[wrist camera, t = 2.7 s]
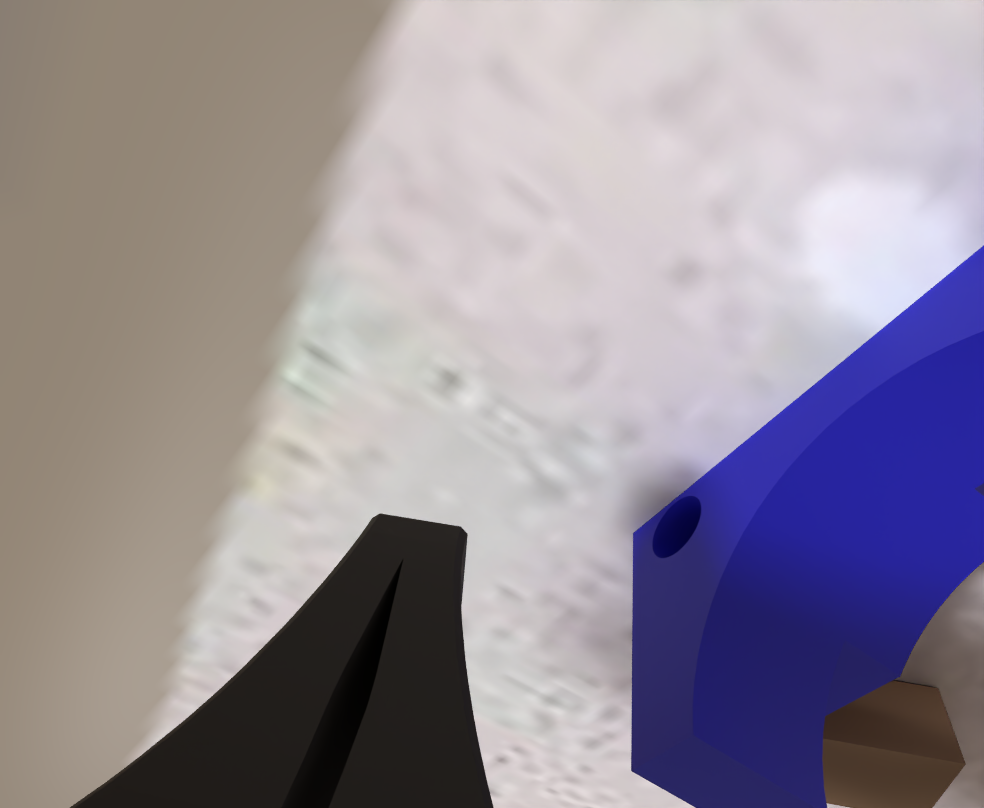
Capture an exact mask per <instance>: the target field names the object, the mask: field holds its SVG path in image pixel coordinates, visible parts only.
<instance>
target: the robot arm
mask: <svg viewBox="0 0 984 808" xmlns="http://www.w3.org/2000/svg"><path fill="white" fill-rule="evenodd" d="M466 546H467V533H466V532H465V531H464V530H463V529H462V528H461V527H459V526H453V525H447V524H441V523H435V522H429V521H422V520H416V519H410V518H404V517H398V516H392V515H386V514H378V515H377V516H375V517H373V518H372V519H371V521H370V522H369V524H368V525H367V527H366V528H365V530H364V531H363V532H362V534H361V535H360V536H359V538H358V539H357V540H356V542H355V543H354V544H353V546H352V547H351V548H350V550H349V551H348V552H347V553H346V555H345V556H344V557H343V559H342V560H341V561H340V562H339V564H338V565H337V566H336V567H335V568H334V570H333V571H332V572H331V573H330V574H329V576H328V577H327V578H326V579H325V581H324V582H323V583H322V584H321V585H320V586H319V587H318V589H317V590H316V591H315V592H314V593H313V594H312V595H311V596H310V598H309V599H308V600H307V601H306V602H305V603H304V604H303V606H302V607H301V608H300V609H299V610H298V611H297V612H296V613H295V615H294V616H293V617H292V618H291V619H290V620H289V621H288V622H287V623H286V624H285V625H284V626H283V628H282V629H281V630H280V631H279V632H278V633H277V634H276V635H275V636H274V637H273V638H272V639H271V640H270V641H269V642H268V643H267V644H266V645H265V646H264V647H263V648H262V649H261V650H260V651H259V652H258V653H257V654H256V655H255V656H254V657H253V658H252V659H251V660H250V661H249V662H248V663H247V664H246V665H245V666H244V667H243V668H242V669H241V670H240V671H239V672H238V673H237V674H236V675H235V676H233V677H232V678H231V679H230V680H229V681H228V682H227V683H226V684H225V685H224V686H223V687H222V688H221V689H220V690H218V691H217V692H216V693H215V694H214V695H213V696H212V697H211V698H210V699H208V700H207V701H206V702H205V703H204V704H203V705H202V706H200V707H199V708H198V709H197V710H196V711H195V712H194V713H192V714H191V715H190V716H189V717H188V718H187V719H185V720H184V721H183V722H182V723H181V724H179V725H178V726H177V727H176V728H175V729H173V730H172V731H171V732H170V733H168V734H167V735H166V736H165V737H163V738H162V739H161V740H160V741H158V742H157V743H156V744H155V745H154V746H152V747H151V748H150V749H149V750H147V751H146V752H145V753H144V754H142V755H141V756H140V757H139V758H137V759H136V760H135V761H133V762H132V763H131V764H129V765H128V766H127V767H126V768H124V769H123V770H122V771H120V772H119V773H118V774H116V775H115V776H114V777H112V778H111V779H110V780H108V781H107V782H106V783H104V784H103V785H101V786H100V787H98V788H97V789H96V790H94V791H93V792H91V793H90V794H88V795H87V796H86V797H84V798H83V799H81V800H80V801H78V802H77V803H76V804H74V805H73V806H71V807H70V808H493V804H492V800H491V796H490V792H489V788H488V784H487V780H486V775H485V770H484V766H483V761H482V757H481V752H480V747H479V742H478V737H477V732H476V727H475V721H474V716H473V710H472V703H471V697H470V691H469V684H468V677H467V669H466V661H465V651H464V640H463V628H462V614H461V604H462V593H463V581H464V569H465V558H466Z"/></svg>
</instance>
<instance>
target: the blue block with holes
mask: <svg viewBox="0 0 984 808" xmlns="http://www.w3.org/2000/svg"><path fill="white" fill-rule="evenodd" d="M983 562H984V246H983V247H981V248H980V249H979V250H978V251H977V252H975V253H974V254H973V255H972V256H970V257H969V258H968V259H967V260H966V261H964V262H963V263H962V264H961V265H959V266H958V267H957V268H956V269H955V270H953V271H952V272H951V273H950V274H948V275H947V276H946V277H945V278H944V279H942V280H941V281H940V282H939V283H938V284H936V285H935V286H934V287H933V288H931V289H930V290H929V291H928V292H927V293H925V294H924V295H923V296H922V297H920V298H919V299H918V300H917V301H916V302H914V303H913V304H912V305H911V306H910V307H908V308H907V309H906V310H905V311H903V312H902V313H901V314H900V315H899V316H897V317H896V318H895V319H894V320H892V321H891V322H890V323H889V324H888V325H886V326H885V327H884V328H883V329H881V330H880V331H879V332H878V333H877V334H875V335H874V336H873V337H872V338H871V339H869V340H868V341H867V342H866V343H864V344H863V345H862V346H861V347H860V348H858V349H857V350H856V351H855V352H853V353H852V354H851V355H850V356H849V357H847V358H846V359H845V360H844V361H843V362H841V363H840V364H839V365H838V366H836V367H835V368H834V369H833V370H832V371H830V372H829V373H828V374H827V375H825V376H824V377H823V378H822V379H821V380H819V381H818V382H817V383H816V384H815V385H813V386H812V387H811V388H810V389H808V390H807V391H806V392H805V393H804V394H802V395H801V396H800V397H799V398H797V399H796V400H795V401H794V402H793V403H791V404H790V405H789V406H788V407H786V408H785V409H784V410H783V411H782V412H780V413H779V414H778V415H777V416H776V417H774V418H773V419H772V420H771V421H769V422H768V423H767V424H766V425H765V426H763V427H762V428H761V429H760V430H758V431H757V432H756V433H755V434H754V435H752V436H751V437H750V438H749V439H748V440H746V441H745V442H744V443H743V444H741V445H740V446H739V447H738V448H737V449H735V450H734V451H733V452H732V453H730V454H729V455H728V456H727V457H726V458H724V459H723V460H722V461H721V462H719V463H718V464H717V465H716V466H715V467H713V468H712V469H711V470H710V471H709V472H707V473H706V474H705V475H704V476H702V477H701V478H700V479H699V480H698V481H696V482H695V483H694V484H693V485H691V486H690V487H689V488H688V489H687V490H685V491H684V492H683V493H682V494H681V495H679V496H678V497H677V498H676V499H674V500H673V501H672V502H671V503H670V504H668V505H667V506H666V507H665V508H663V509H662V510H661V511H660V512H659V513H657V514H656V515H655V516H654V517H652V518H651V519H650V520H649V521H648V522H646V523H645V524H644V525H643V526H642V527H640V528H639V529H638V530H637V531H635V532H634V533H633V630H632V752H631V771H632V772H634V773H636V774H638V775H639V776H641V777H643V778H645V779H646V780H648V781H650V782H652V783H653V784H655V785H657V786H659V787H660V788H662V789H664V790H666V791H668V792H669V793H671V794H673V795H675V796H676V797H678V798H680V799H682V800H683V801H685V802H687V803H689V804H690V805H692V806H694V807H696V808H827V804H826V797H825V790H824V779H823V762H822V754H823V730H824V721H825V716H826V715H828V714H830V713H832V712H834V711H836V710H838V709H839V708H841V707H843V706H845V705H847V704H849V703H851V702H853V701H855V700H856V699H858V698H860V697H862V696H864V695H866V694H868V693H870V692H872V691H873V690H875V689H877V688H879V687H881V686H883V685H885V684H887V683H889V682H891V681H892V680H894V679H896V678H898V677H900V675H901V673H902V670H903V668H904V666H905V664H906V662H907V660H908V658H909V656H910V653H911V651H912V649H913V647H914V646H915V644H916V642H917V640H918V639H919V637H920V635H921V634H922V632H923V630H924V629H925V627H926V625H927V624H928V623H929V621H930V620H931V618H932V617H933V616H934V614H935V613H936V611H937V610H938V609H939V607H940V606H941V605H942V604H943V602H944V601H945V600H946V599H947V598H948V597H949V595H950V594H951V593H952V592H953V591H954V590H955V588H956V587H957V586H958V585H959V584H960V583H961V582H962V581H963V580H964V579H965V578H966V577H967V576H968V575H970V574H971V573H972V572H973V571H974V570H975V569H976V568H977V567H978V566H979V565H981V564H982V563H983Z"/></svg>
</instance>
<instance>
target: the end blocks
mask: <svg viewBox="0 0 984 808" xmlns="http://www.w3.org/2000/svg"><path fill="white" fill-rule="evenodd" d="M822 762H823V779H824V790H825V797H826V803H829V804H834V805H840V806H845V807H850V808H932V807H933V806H934V805H935V803H936V802H937V801H938V800H939V798H940V797H941V796H942V794H943V793H944V792H945V790H946V789H947V788H948V786H949V785H950V784H951V783H952V781H953V780H954V779H955V777H956V776H957V775H958V773H959V772H960V771H961V769H962V768H963V767H964V766H965V761H964V758H963V755H962V753H961V750H960V747H959V744H958V742H957V739H956V736H955V733H954V731H953V728H952V725H951V722H950V720H949V717H948V714H947V711H946V709H945V706H944V703H943V700H942V698H941V695H940V692H939V689H938V688H933V687H927V686H921V685H916V684H910V683H904V682H898V681H891V682H889V683H887V684H885V685H883V686H881V687H879V688H877V689H875V690H873V691H872V692H870V693H868V694H866V695H864V696H862V697H860V698H858V699H856V700H855V701H853V702H851V703H849V704H847V705H845V706H843V707H841V708H839V709H838V710H836V711H834V712H832V713H830V714H828V715H826V716H825V721H824V730H823V754H822Z"/></svg>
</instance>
